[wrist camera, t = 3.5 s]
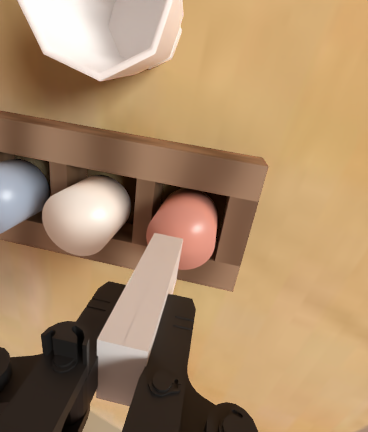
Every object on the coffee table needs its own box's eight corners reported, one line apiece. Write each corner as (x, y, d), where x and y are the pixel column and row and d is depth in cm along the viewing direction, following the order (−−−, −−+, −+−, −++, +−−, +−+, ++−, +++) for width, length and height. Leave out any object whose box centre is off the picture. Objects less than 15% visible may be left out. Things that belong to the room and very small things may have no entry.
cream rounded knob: (76, 223, 21) (44, 248, 17) (75, 169, 19) (39, 184, 16) (129, 234, 21) (107, 262, 17) (133, 180, 19) (110, 199, 15)
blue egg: (1, 207, 22) (-45, 228, 18) (-7, 153, 20) (-60, 164, 16) (51, 218, 21) (15, 241, 18) (48, 164, 19) (6, 178, 16)
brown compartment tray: (4, 220, 25) (-24, 234, 22) (-12, 108, 21) (-48, 108, 18) (232, 269, 23) (232, 291, 21) (262, 157, 19) (268, 166, 16)
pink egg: (158, 234, 21) (143, 261, 18) (164, 183, 19) (149, 201, 16) (211, 246, 21) (208, 276, 17) (223, 194, 19) (222, 215, 15)
